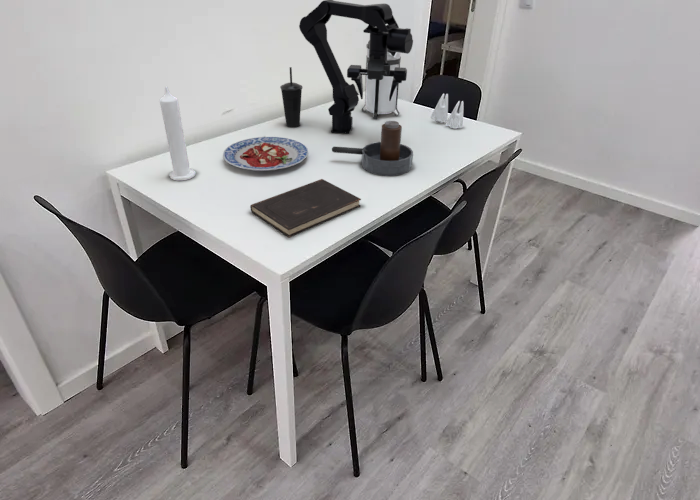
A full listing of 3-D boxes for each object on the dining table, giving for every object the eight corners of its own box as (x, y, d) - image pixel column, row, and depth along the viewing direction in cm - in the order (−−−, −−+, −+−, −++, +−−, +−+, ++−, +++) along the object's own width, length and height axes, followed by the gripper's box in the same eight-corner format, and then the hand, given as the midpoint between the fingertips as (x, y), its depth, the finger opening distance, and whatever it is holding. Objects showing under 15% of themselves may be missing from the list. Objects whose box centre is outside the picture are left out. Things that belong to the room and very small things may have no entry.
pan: (358, 173, 142) (359, 159, 140) (364, 153, 155) (365, 140, 152) (410, 177, 140) (412, 163, 138) (412, 157, 153) (413, 143, 151)
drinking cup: (307, 123, 177) (305, 66, 166) (298, 129, 171) (296, 71, 160) (287, 120, 179) (285, 63, 168) (278, 126, 173) (275, 68, 162)
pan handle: (331, 153, 147) (331, 147, 146) (332, 150, 148) (332, 145, 147) (366, 155, 146) (367, 150, 145) (367, 153, 147) (367, 147, 146)
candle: (172, 182, 134) (153, 91, 121) (167, 172, 140) (149, 84, 126) (198, 178, 137) (183, 88, 123) (192, 168, 142) (177, 81, 129)
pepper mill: (375, 165, 146) (377, 123, 138) (386, 159, 150) (389, 118, 142) (391, 170, 143) (394, 127, 136) (402, 164, 147) (405, 122, 139)
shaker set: (429, 122, 181) (432, 92, 174) (435, 119, 183) (439, 90, 177) (457, 130, 174) (461, 99, 168) (463, 127, 177) (467, 97, 170)
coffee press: (405, 110, 192) (412, 28, 175) (391, 122, 180) (398, 35, 163) (365, 103, 198) (368, 23, 181) (349, 115, 185) (350, 30, 169)
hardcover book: (360, 206, 125) (361, 198, 124) (289, 237, 112) (288, 229, 111) (320, 185, 135) (320, 178, 134) (250, 211, 122) (249, 203, 121)
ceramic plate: (206, 158, 149) (205, 149, 147) (272, 137, 165) (271, 128, 163) (259, 184, 134) (258, 175, 133) (325, 158, 150) (325, 149, 149)
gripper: (344, 53, 145) (344, 105, 153) (407, 56, 143) (403, 109, 151) (349, 45, 154) (348, 95, 163) (408, 48, 152) (404, 98, 161)
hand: (375, 99), depth 159 cm, fingers open, 9 cm apart
